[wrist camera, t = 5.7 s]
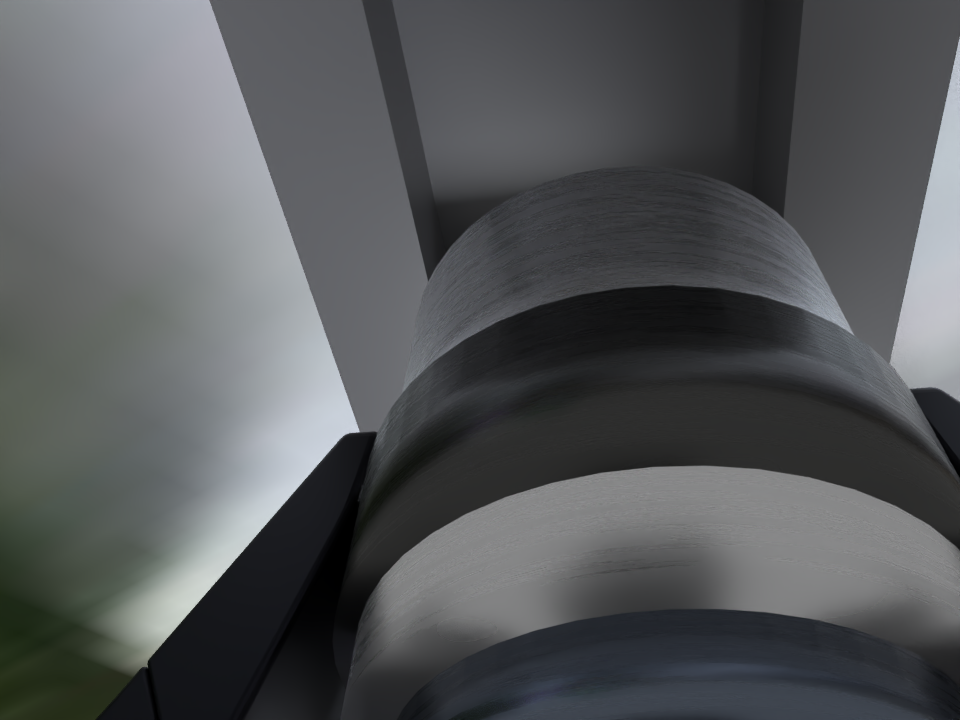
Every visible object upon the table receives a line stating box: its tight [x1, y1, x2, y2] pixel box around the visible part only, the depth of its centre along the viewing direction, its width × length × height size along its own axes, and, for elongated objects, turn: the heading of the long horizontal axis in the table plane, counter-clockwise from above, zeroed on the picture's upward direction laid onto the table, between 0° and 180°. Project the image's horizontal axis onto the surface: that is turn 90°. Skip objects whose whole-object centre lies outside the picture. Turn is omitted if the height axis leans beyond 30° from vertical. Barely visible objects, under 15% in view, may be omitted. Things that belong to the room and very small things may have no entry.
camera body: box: [210, 0, 960, 432], centre depth 16 cm, size 16×12×4 cm
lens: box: [332, 166, 960, 720], centre depth 8 cm, size 6×6×6 cm
